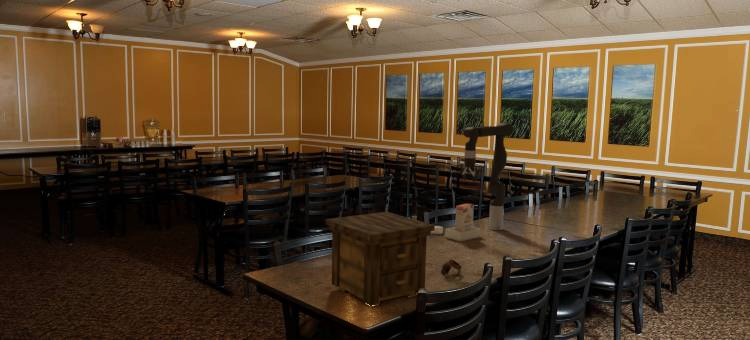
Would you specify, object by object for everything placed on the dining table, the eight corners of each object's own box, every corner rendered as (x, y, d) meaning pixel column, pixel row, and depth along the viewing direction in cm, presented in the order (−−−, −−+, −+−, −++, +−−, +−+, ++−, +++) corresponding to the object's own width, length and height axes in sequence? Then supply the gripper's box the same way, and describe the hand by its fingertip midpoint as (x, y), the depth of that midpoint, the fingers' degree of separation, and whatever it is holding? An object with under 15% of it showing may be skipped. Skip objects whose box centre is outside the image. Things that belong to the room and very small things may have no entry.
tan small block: (436, 231, 363) (436, 225, 362) (445, 233, 356) (445, 227, 356) (428, 232, 358) (428, 226, 357) (436, 234, 351) (437, 229, 351)
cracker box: (462, 238, 338) (463, 207, 336) (454, 237, 342) (455, 205, 339) (472, 235, 349) (473, 204, 347) (464, 233, 353) (465, 203, 350)
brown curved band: (443, 270, 275) (451, 257, 274) (457, 281, 271) (465, 268, 270) (434, 270, 265) (443, 257, 264) (449, 282, 260) (458, 268, 259)
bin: (445, 237, 344) (445, 228, 343) (466, 233, 357) (466, 225, 356) (459, 241, 334) (460, 232, 334) (480, 237, 347) (481, 228, 347)
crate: (385, 275, 263) (386, 211, 259) (432, 296, 235) (434, 225, 231) (324, 288, 242) (325, 219, 239) (368, 313, 214) (369, 235, 210)
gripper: (482, 157, 349) (481, 181, 351) (465, 156, 360) (464, 179, 362) (474, 158, 344) (473, 182, 346) (458, 156, 355) (457, 180, 357)
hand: (469, 181), depth 354 cm, fingers open, 8 cm apart
